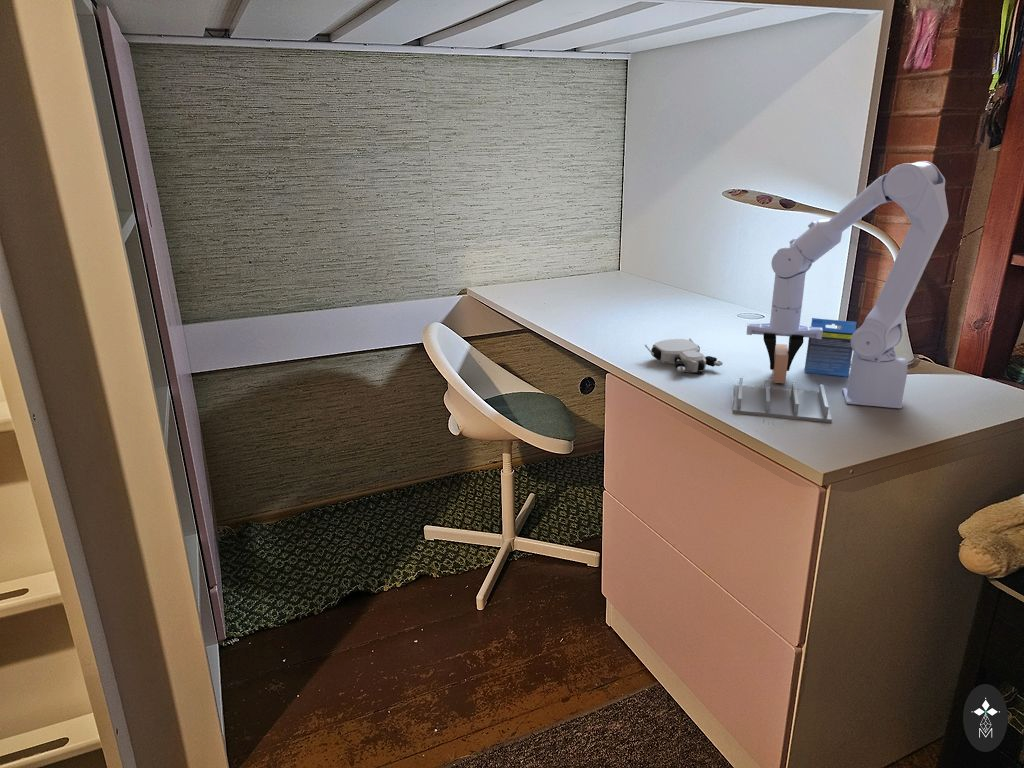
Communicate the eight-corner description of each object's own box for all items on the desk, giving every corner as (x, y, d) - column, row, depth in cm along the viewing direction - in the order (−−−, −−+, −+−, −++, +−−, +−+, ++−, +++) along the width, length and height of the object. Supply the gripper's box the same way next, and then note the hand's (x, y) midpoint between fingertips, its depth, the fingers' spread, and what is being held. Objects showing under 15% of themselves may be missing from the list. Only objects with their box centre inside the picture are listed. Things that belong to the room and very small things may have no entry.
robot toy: (725, 376, 152) (687, 352, 165) (727, 356, 150) (689, 334, 163) (676, 383, 148) (641, 358, 161) (678, 364, 146) (643, 340, 159)
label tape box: (848, 372, 149) (857, 317, 145) (848, 378, 146) (857, 321, 142) (804, 367, 153) (811, 313, 149) (803, 373, 149) (811, 318, 145)
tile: (784, 371, 149) (787, 344, 147) (785, 383, 142) (788, 355, 140) (772, 370, 150) (775, 343, 148) (772, 382, 143) (776, 354, 141)
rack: (824, 395, 137) (826, 383, 136) (831, 422, 124) (833, 409, 123) (735, 387, 142) (736, 375, 141) (732, 412, 129) (734, 400, 128)
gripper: (823, 303, 142) (815, 365, 147) (749, 299, 147) (743, 360, 151) (826, 311, 136) (817, 376, 141) (749, 307, 140) (743, 370, 145)
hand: (779, 368), depth 145 cm, fingers closed on tile, 2 cm apart
